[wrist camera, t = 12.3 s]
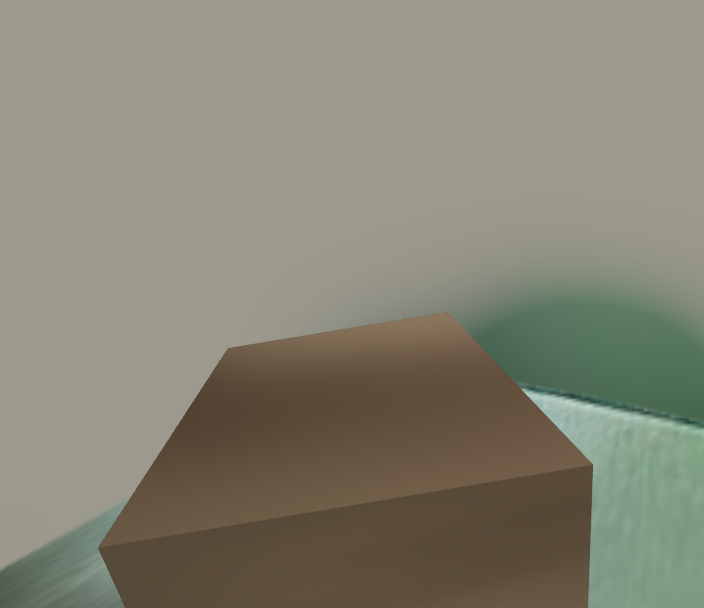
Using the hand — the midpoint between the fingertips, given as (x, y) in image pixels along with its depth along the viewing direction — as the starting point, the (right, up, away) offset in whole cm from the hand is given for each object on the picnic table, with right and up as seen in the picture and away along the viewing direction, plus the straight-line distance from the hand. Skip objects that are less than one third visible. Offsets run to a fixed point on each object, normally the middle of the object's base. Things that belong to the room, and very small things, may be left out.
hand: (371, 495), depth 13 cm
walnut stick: (+2, -10, -3) cm, 10 cm away
